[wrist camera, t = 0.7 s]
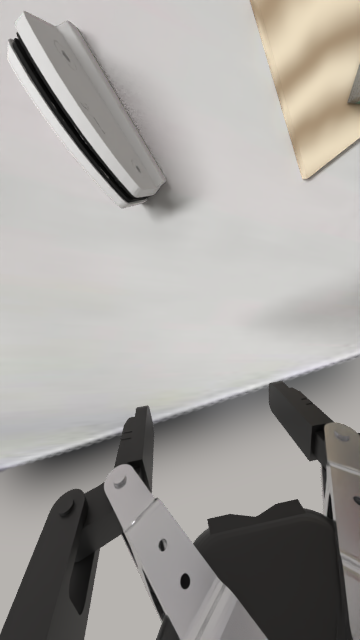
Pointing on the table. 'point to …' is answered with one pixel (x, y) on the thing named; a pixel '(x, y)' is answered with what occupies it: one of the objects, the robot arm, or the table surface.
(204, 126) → the table surface
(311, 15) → the board
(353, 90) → the tong arm
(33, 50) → the grey curved block
